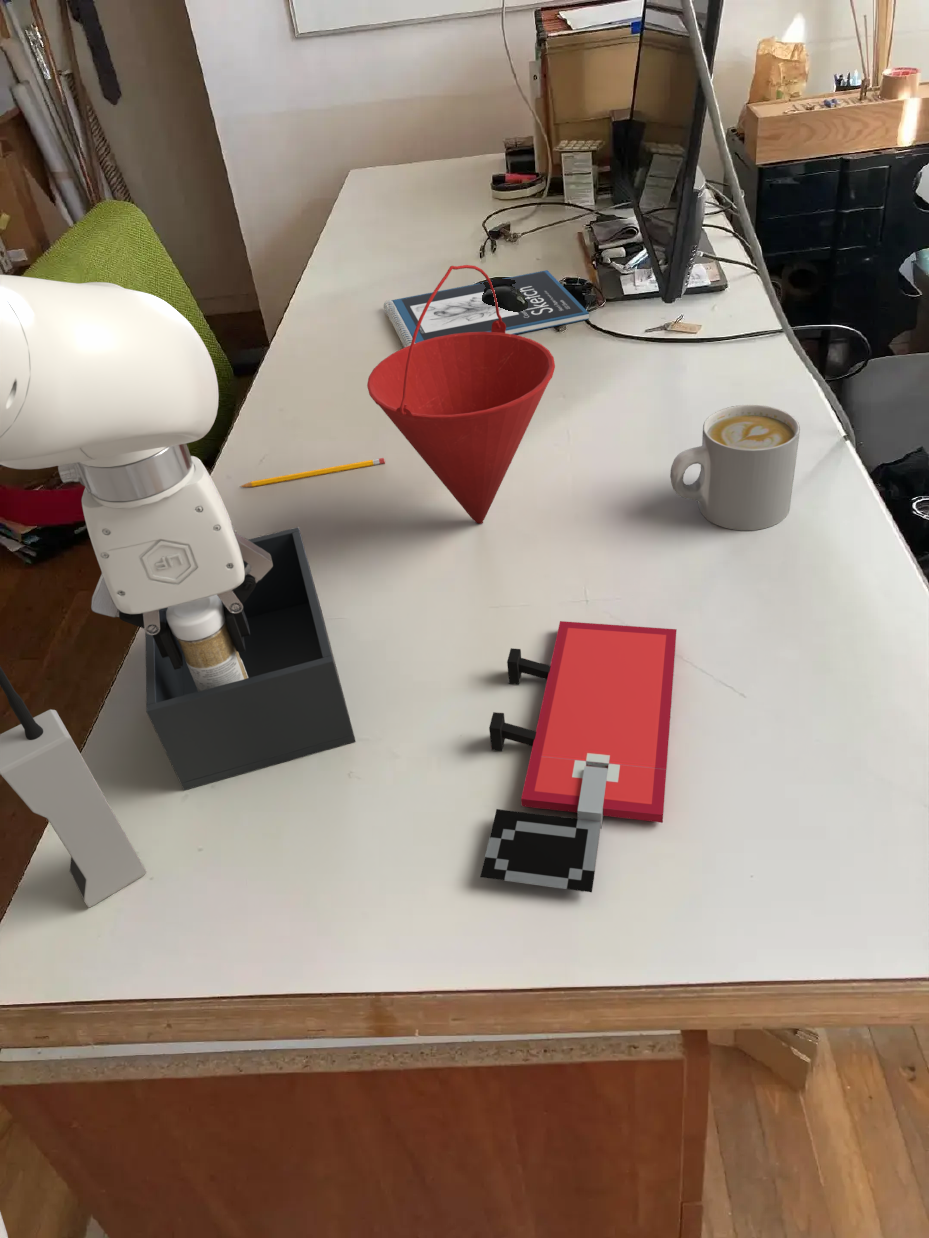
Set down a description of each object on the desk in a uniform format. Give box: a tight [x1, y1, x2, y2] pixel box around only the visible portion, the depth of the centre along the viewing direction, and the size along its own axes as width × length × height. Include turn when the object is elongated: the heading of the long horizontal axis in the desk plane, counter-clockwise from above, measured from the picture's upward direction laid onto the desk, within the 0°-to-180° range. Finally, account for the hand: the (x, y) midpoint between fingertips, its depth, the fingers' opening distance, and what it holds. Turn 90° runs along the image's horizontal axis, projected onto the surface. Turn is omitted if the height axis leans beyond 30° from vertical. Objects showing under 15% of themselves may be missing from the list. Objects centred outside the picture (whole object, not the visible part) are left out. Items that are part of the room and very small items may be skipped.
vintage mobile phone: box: [0, 665, 148, 908], centre depth 68 cm, size 4×5×25 cm
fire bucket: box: [366, 264, 556, 525], centre depth 99 cm, size 22×20×30 cm
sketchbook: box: [383, 269, 590, 348], centre depth 155 cm, size 22×30×2 cm
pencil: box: [239, 457, 386, 488], centre depth 121 cm, size 1×19×1 cm, turn 99°
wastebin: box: [144, 526, 356, 791], centre depth 88 cm, size 22×16×10 cm
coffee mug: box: [669, 404, 801, 531], centre depth 102 cm, size 13×10×10 cm
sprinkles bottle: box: [166, 595, 248, 692], centre depth 80 cm, size 5×5×13 cm
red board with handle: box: [479, 620, 677, 893], centre depth 80 cm, size 30×3×15 cm
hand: (208, 648), depth 79 cm, fingers closed on sprinkles bottle, 4 cm apart
